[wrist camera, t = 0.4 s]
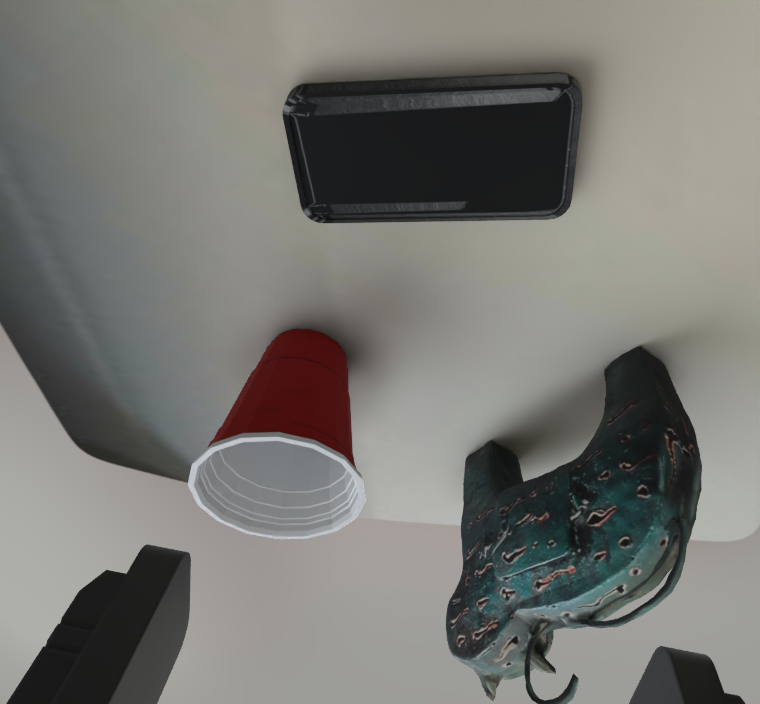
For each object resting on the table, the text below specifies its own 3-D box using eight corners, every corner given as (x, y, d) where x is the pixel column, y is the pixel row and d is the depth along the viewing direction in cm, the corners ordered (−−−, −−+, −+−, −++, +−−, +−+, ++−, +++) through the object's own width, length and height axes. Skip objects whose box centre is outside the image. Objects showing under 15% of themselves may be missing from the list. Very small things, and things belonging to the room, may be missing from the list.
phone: (278, 95, 35) (584, 82, 33) (283, 85, 36) (582, 71, 34) (304, 225, 41) (569, 221, 39) (308, 214, 42) (567, 209, 40)
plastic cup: (402, 397, 53) (386, 540, 45) (271, 411, 56) (233, 548, 48) (358, 288, 46) (330, 435, 37) (211, 312, 49) (154, 452, 40)
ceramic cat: (492, 487, 60) (493, 744, 46) (433, 455, 58) (415, 716, 44) (691, 369, 48) (775, 673, 34) (626, 323, 45) (688, 628, 31)
